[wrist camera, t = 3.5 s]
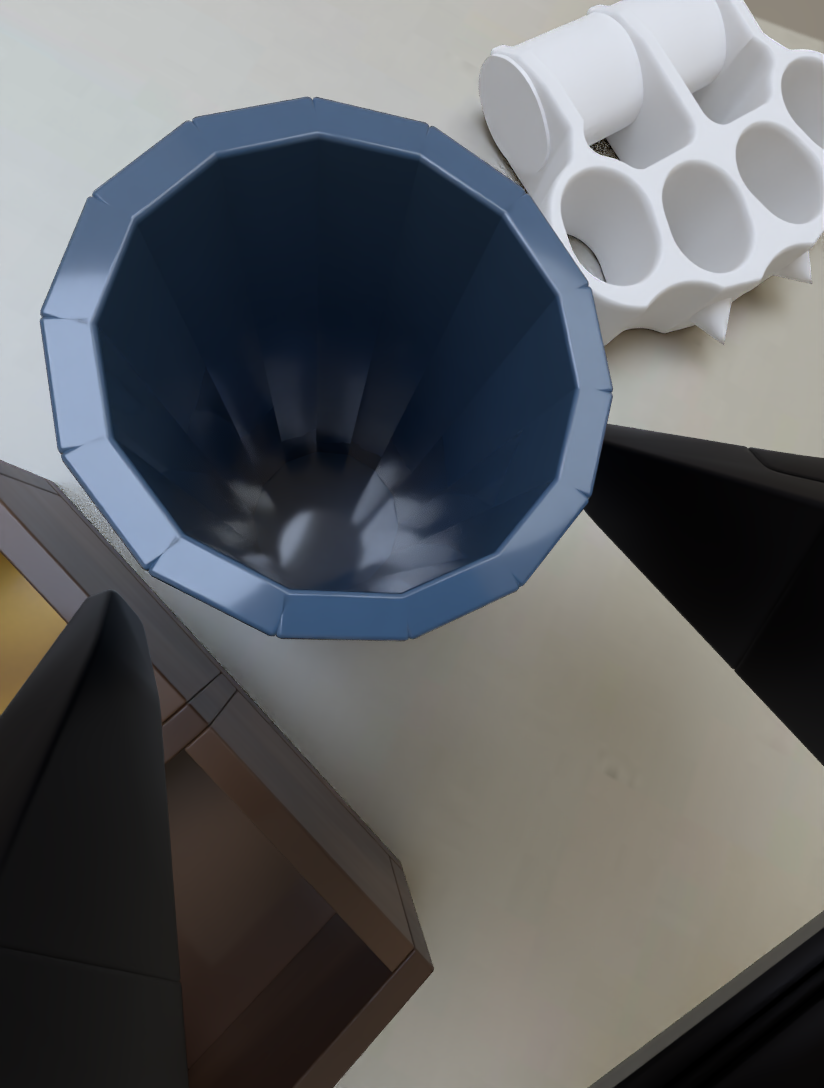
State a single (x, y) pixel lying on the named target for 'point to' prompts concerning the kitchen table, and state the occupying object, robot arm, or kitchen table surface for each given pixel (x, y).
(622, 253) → the knuckle duster
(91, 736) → the robot arm
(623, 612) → the kitchen table surface
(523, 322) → the tumbler
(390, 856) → the caddy
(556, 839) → the kitchen table surface
